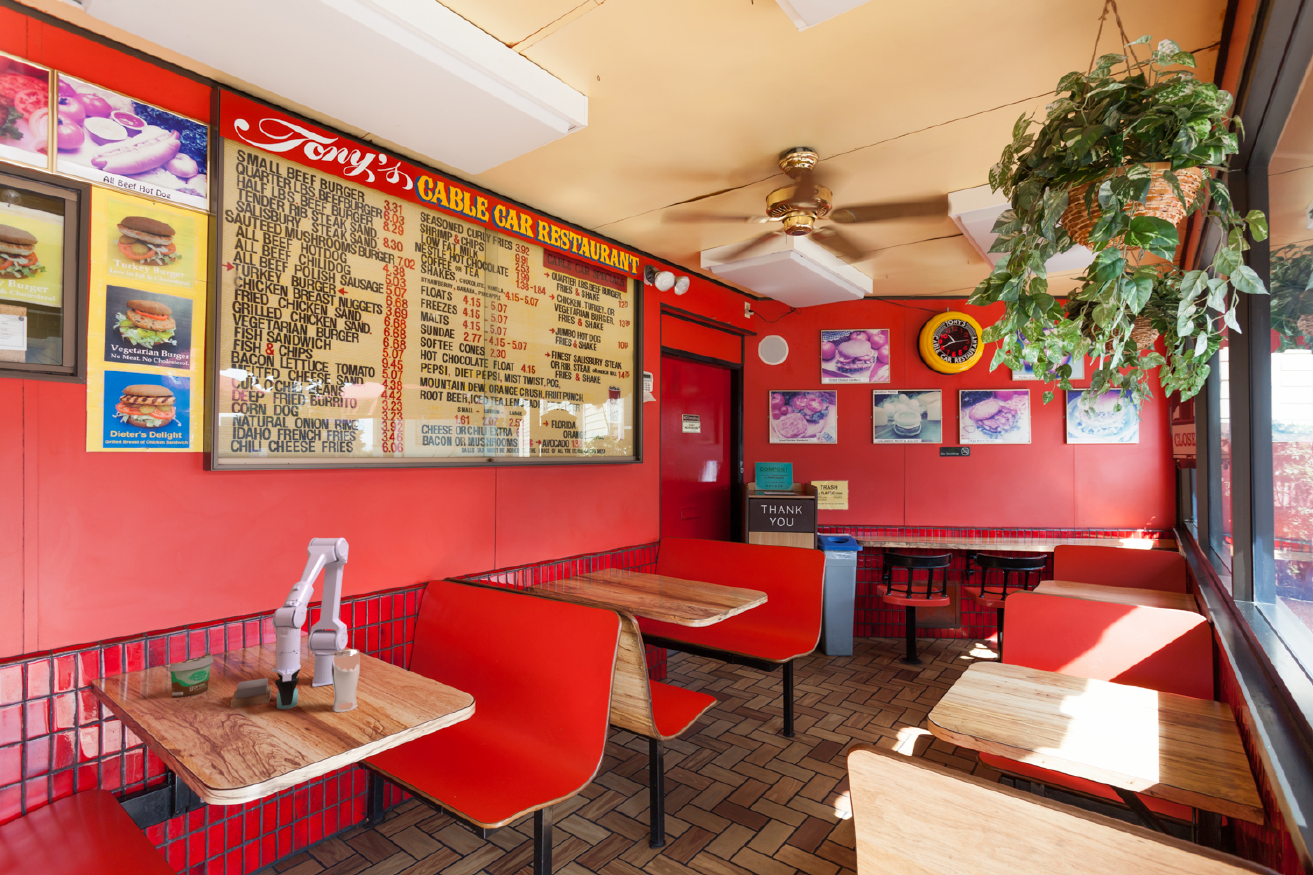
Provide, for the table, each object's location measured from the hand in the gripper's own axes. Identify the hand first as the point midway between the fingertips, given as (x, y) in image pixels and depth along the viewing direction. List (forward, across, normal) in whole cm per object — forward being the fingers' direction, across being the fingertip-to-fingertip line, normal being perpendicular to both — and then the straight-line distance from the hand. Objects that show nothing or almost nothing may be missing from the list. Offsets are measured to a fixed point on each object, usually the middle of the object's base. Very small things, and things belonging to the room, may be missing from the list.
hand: (287, 700), depth 174 cm
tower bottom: (+2, -10, -9) cm, 14 cm away
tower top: (0, -10, -9) cm, 14 cm away
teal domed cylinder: (+2, 0, 0) cm, 2 cm away
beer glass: (+2, +10, +14) cm, 17 cm away
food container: (+2, -25, -24) cm, 35 cm away
